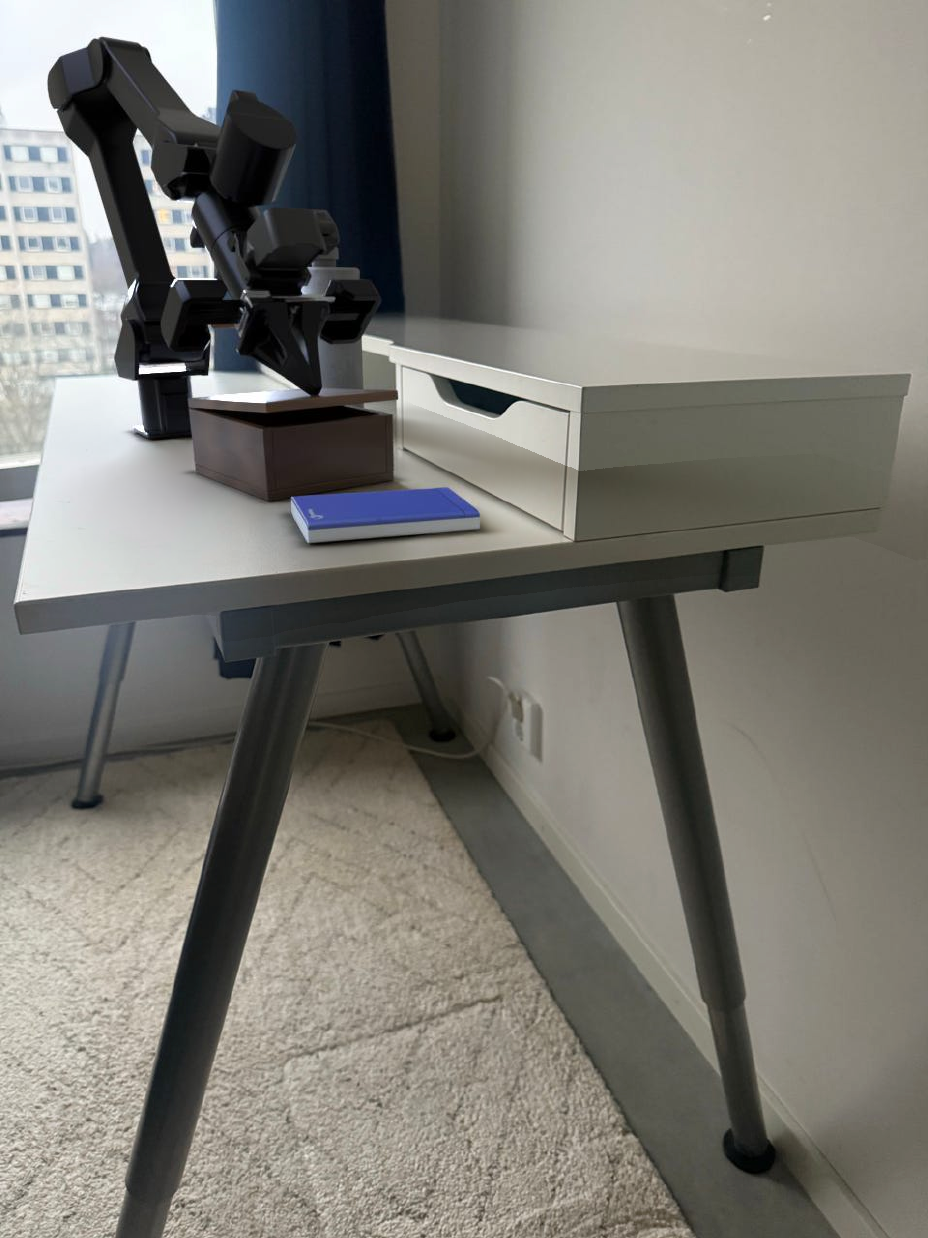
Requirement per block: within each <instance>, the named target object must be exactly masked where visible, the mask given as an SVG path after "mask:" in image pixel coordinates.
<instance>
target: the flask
mask: <svg viewBox="0 0 928 1238" xmlns="http://www.w3.org/2000/svg"><path fill="white" fill-rule="evenodd" d="M339 257H340V256H339V248H338V246H336V247H335V248H334V249H333V250H332V251H331V252H330V253H329V254H328V255H327V256H318V257H317V258H316V259H315V260H314V261H313V262H312V263H311V266H308V269H309V271H310V273H311V275H312V277H311V279H310V282H309V284H308V286H303V287H302V289H301V291H302V293H303V295H304V294H324V293H325V291H326V289H327V287H328V285H329V283H330V280H331V279H361V277H360V274H361V273H360V269H359V268H357V267H347V266H346V267H342V266H341V267H340V266H339V267H337V260H339V259H340V258H339ZM362 338H363V337H362ZM362 338H361V339H360V340H359V341H357V342H355V343H353V344H334V345H330V344H329V343H327V342H325V341H323V340H322V339H320V338H319V336H318V350H319V360H320V370H321V379H322V388H336V389H364V367H363V366H364V364H363V339H362ZM351 406H356V407H360V408H365V403H361V404H351Z"/></svg>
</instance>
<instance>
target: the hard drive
mask: <svg viewBox="0 0 928 1238" xmlns="http://www.w3.org/2000/svg"><path fill="white" fill-rule="evenodd" d="M290 509H291V510H290V511H291V515H292V518H293V520H294V521H295V523H296V525H297V526H298V528H299V530H300V532H301V534H302V536H303V538H304V539H305V541H306V543H307V544H316V543H317V544H318V543H328V542H338V541H339V542H340V541H353V540H363V539H375V538H376V539H377V538H388V537H400V536H410V535H423V534H435V533H436V534H437V533H448V532H460V531H473V530H479V529H481V513H480V511H479V509H478V508H476V507H475V506H473V505H472V504H471V503H469V502H468V501H467V500H466V499H464V498H463V497H462V496H460V495H459V494H458V493H456V492H455V491H454V490H452V489H451V488H450V487H448V486H444V487H433V488H416V489H413V488H412V489H399V490H398V489H396V490H381V491H364V492H347V493H346V492H345V493H331V494H330V493H329V494H316V495H315V494H310V495H303V496H297V497H291V498H290Z"/></svg>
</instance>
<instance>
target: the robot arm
mask: <svg viewBox="0 0 928 1238" xmlns="http://www.w3.org/2000/svg"><path fill="white" fill-rule="evenodd" d="M46 82H47V83H46V84H47V85H46V86H47V94H48V99H49V102H50V105H51V108H52V109H54V110H55V111H56V114H57V116H58V119H59V122H60V124H61V127H62V129H63V132H64V134H65V136H66V137H67V138H68V139H69V140H70V141H71V142H72V144H74V145H75V146H76V147H77V148H78V149H79V150H80V151H81V152H82V153H83V154H84V155H85V156H86V157H87V158H88V160H89V164H90V166H91V170H92V174H93V176H94V181H95V183H96V186H97V187H96V188H97V190H98V193H99V196H100V200H101V204H102V206H103V207H102V208H103V210H104V212H105V217H106V220H107V223H108V226H109V230H110V233H111V236H112V239H113V243H114V246H115V250H116V253H117V256H118V259H119V263H120V266H121V270H122V273H123V276H124V280H125V284H126V287H127V293H126V294H125V295H126V296H125V299H124V301H123V305H122V308H121V312H120V314H119V315H120V321H121V327H120V332H119V335H118V339H117V343H116V347H115V352H114V355H113V360H114V364H115V368H116V372H117V376H118V377H119V378H122V379H125V380H129V381H133V382H136V384H137V385H136V386H137V391H138V399H139V408H140V415H141V423H142V425H133V431H134V432H136V433H138V434H140V435H142V436H143V437H145V438H147V439H151V440H153V439H161V438H164V439H165V438H171V437H184V436H192V432H191V422H190V413H189V408H190V407H189V404H188V398H194V393H193V392H194V391H193V383H192V377H197V376H201V377H208V376H209V369H210V361H211V360H210V359H211V347H212V346H211V345H212V343H211V342H212V334H211V332H210V327H211V328H212V329H213V330H219V329H220V330H222V329H235V330H236V331H237V334H238V336H239V340H238V342H237V345H236V348H235V350H236V352H237V354H238V355H239V356H240V357H249V358H250V359H252V360H254V361H256V362H258V363H259V364H261V365H263V366H264V367H266V368H268V369H270V370H271V371H273V372H275V373H276V374H277V375H279V376H281V377H282V378H283V379H285V380H287V381H288V382H290V383H291V384H292V385H294V386H295V387H297V389H301V390H303V391H304V392H306V393H307V394H308V395H318V394H319V393H320V391H321V389H322V379H321V370H320V360H319V350H318V336H319V338H320V339H322V340H323V341H325V342H327V343H329V344H330V345H334V344H353V343H355V342H357V341H359V340H360V339H361V338H363V336H364V334H365V332H366V331H367V329H368V326H369V324H370V323H371V321H372V319H373V318H374V316H375V314H376V312H377V310H378V308H379V306H380V304H381V302H382V301H383V299H382V298H381V296H380V294H379V292H378V290H377V288H376V287H375V285H374V283H373V281H372V280H371V279H365V278H364V279H362V278H360V279H331V280H330V283H329V285H328V287H327V289H326V291H325V293H324V294H304V295H303V293H302V291H301V289H302V287H303V286H308V284H309V282H310V279H311V277H312V275H311V273H310V271H309V269H308V267H310V266H311V265H312V262H313V261H314V260H315V259H316V258H317V257H318V256H327V255H328V254H329V253H330V252H331V251H332V250H333V249H334V248H335V247H338V246H339V243H340V235H339V230H338V227H337V223H336V222H335V220H334V219H333V218H332V216H331V215H330V213H329V211H328V210H326V209H316V208H315V209H313V208H312V209H311V208H296V207H295V208H294V207H276V206H275V207H271V208H268V209H265V210H264V211H262V213H261V211H260V209H259V207H260V206H268V205H270V204H275V203H276V200H277V197H278V194H279V193H280V189H281V187H282V184H283V181H284V178H285V175H286V173H287V171H288V167H289V164H290V162H291V159H292V156H293V154H294V151H295V148H296V145H297V143H298V140H299V134H298V130H297V128H296V126H295V124H294V123H293V121H292V120H290V119H287V118H286V116H285V115H283V114H282V113H281V112H280V111H279V110H278V109H275V108H274V107H272V106H271V105H269V104H266V103H264V102H262V101H260V100H259V98H258V96H257V94H256V93H255V92H254V91H253V92H252V91H246V90H239V89H232V90H231V93H230V96H229V99H228V104H227V107H226V111H225V114H224V118H223V121H222V125H221V126H220V125H219V124H217V123H214V122H212V121H210V120H207V119H205V118H202V117H200V116H198V115H197V114H195V113H194V112H192V110H191V108H189V107H188V106H187V104H186V103H185V102H184V100H183V99H182V98H181V97H180V95H179V94H178V93H177V92H176V90H175V89H174V87H172V85H171V84H170V82H168V80H167V79H166V77H165V76H164V75H163V74H162V73H161V72H160V70H159V69H158V68H157V66H156V65H155V64H154V63H153V60H152V56H151V53H150V50H149V49H148V47H146V46H143V45H142V44H141V43H139V42H136V41H131V40H125V39H119V38H114V37H107V36H100V37H98V38H95V37H94V38H92V39H91V40H90V41H89V43H88V44H87V46H85V47H83V48H80V49H77V50H74V51H71V52H68V53H66V54H62V55H60V56H59V57H58V58H57V60H56V61H55V63H54V64H53V65H52V67H51V69H50V70H49V71H48V74H47V81H46ZM137 131H139V132H140V134H141V136H143V138H144V139H145V140H146V142H147V143H148V145H149V146H150V148H151V156H150V157H151V158H150V165H149V167H150V169H151V172H152V174H153V177H154V179H155V181H156V183H157V184H158V186H159V187H160V189H161V191H162V193H163V194H164V196H165V197H167V199H169V201H173V202H186V203H193V205H192V208H191V211H190V219H191V221H192V225H191V230H190V234H189V244H190V247H191V249H205V250H206V251H207V253H208V255H209V257H210V259H211V261H212V263H213V266H214V267H215V269H216V274H215V278H176V277H175V276H174V275H173V272H172V269H171V265H170V262H169V258H168V255H167V252H166V249H165V245H164V242H163V239H162V235H161V233H160V229H159V226H158V223H157V219H156V216H155V213H154V212H155V211H154V209H153V205H152V202H151V199H150V195H149V193H148V188H147V185H146V182H145V179H144V175H143V172H142V169H141V166H140V162H139V159H138V156H137V152H136V148H135V145H134V141H135V138H136V134H137ZM227 294H228V295H229V297H230V299H224V298H225V297H226V296H227ZM209 326H210V327H209ZM180 364H184V366H168V367H151V368H140V367H141V366H144V367H146V366H163V365H164V366H165V365H180Z"/></svg>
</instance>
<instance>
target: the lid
mask: <svg viewBox="0 0 928 1238" xmlns="http://www.w3.org/2000/svg"><path fill="white" fill-rule="evenodd" d="M398 400H399V391H398V390H397V389H368V388H367V389H366V388H363V389H336V388H322V389H321V391H320V393H319V394H318V395H308V394H307V393H306V392H304V391H303V390H301V389H300V388H292V389H290V388H289V389H281V390H279V389H278V390H269V391H268V390H267V391H258V392H247V393H246V392H245V393H233V394H223V395H209V396H198V397H193V398H188V404H189V407H190V408H204V409H217V410H231V411H245V412H258V413H274V412H283V411H293V410H303V409H312V408H322V407H332V406H342V405H351V404H361V403H364V404H371V403H380V402H388V401H398Z"/></svg>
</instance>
